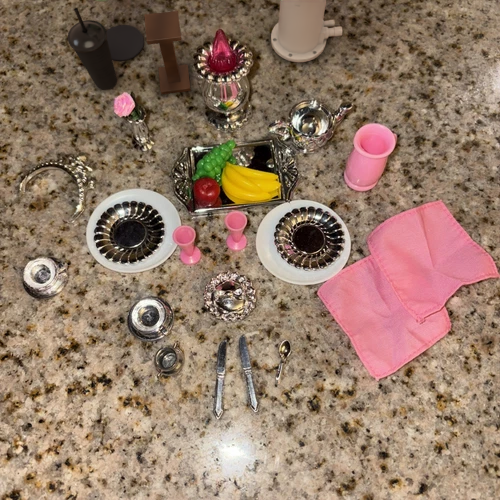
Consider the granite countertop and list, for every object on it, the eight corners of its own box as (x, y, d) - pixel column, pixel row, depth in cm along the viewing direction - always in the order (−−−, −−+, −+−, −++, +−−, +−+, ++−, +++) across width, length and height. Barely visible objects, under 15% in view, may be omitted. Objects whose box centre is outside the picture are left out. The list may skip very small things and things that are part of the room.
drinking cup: (121, 95, 107) (94, 26, 88) (87, 95, 107) (51, 25, 89) (125, 67, 110) (99, -7, 91) (91, 66, 110) (58, -7, 91)
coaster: (142, 23, 114) (142, 22, 114) (145, 58, 111) (145, 57, 110) (99, 28, 114) (98, 27, 113) (101, 63, 110) (100, 62, 110)
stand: (187, 67, 110) (177, 10, 95) (190, 91, 108) (180, 37, 93) (159, 70, 110) (144, 14, 94) (161, 94, 107) (146, 40, 92)
